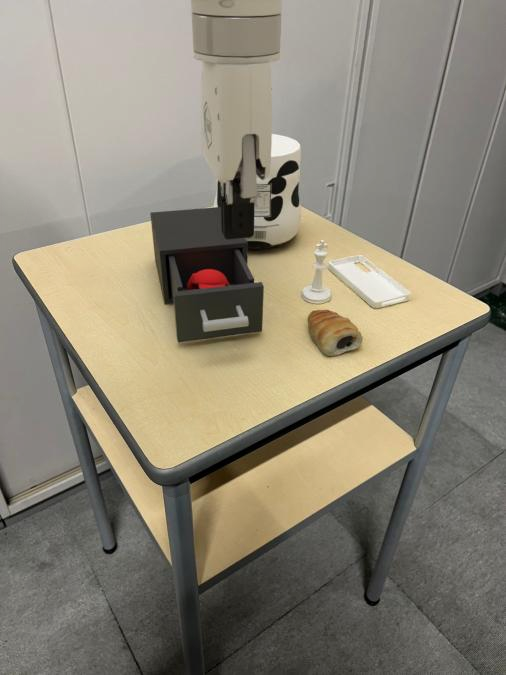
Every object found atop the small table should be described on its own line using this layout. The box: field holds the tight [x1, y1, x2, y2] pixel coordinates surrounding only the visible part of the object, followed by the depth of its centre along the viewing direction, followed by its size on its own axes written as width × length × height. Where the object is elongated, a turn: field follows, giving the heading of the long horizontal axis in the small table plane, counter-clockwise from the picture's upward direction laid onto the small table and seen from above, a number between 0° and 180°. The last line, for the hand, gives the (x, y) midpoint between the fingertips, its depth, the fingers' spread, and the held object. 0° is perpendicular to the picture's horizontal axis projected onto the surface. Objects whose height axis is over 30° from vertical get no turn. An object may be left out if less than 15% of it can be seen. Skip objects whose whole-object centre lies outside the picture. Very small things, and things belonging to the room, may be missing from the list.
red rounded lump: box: [187, 269, 230, 290], centre depth 78 cm, size 8×6×6 cm
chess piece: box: [300, 239, 332, 305], centre depth 83 cm, size 5×5×10 cm
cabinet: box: [150, 207, 249, 305], centre depth 87 cm, size 15×14×10 cm
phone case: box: [327, 254, 412, 309], centre depth 89 cm, size 7×1×15 cm
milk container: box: [212, 133, 302, 249], centre depth 98 cm, size 17×17×18 cm
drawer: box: [168, 248, 265, 344], centre depth 76 cm, size 18×12×8 cm
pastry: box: [307, 309, 364, 357], centre depth 76 cm, size 9×7×4 cm
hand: (237, 234), depth 55 cm, fingers closed
